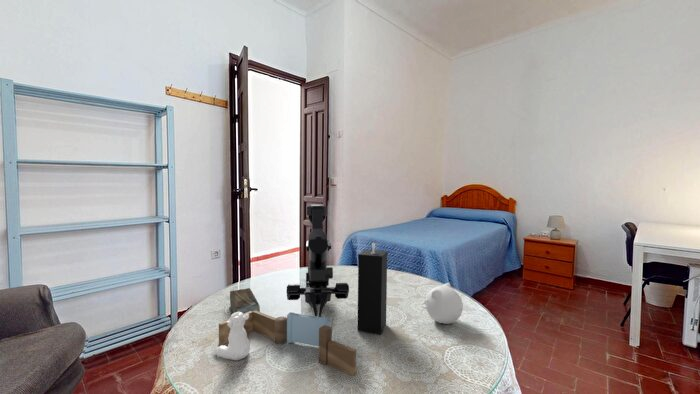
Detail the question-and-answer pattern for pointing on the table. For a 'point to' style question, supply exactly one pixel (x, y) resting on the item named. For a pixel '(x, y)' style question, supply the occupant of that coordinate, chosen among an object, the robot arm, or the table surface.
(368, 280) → the black pillar candle
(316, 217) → the robot arm
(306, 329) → the gate
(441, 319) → the cat head
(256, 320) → the pen fence
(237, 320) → the sitting furry creature
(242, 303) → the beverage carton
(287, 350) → the table surface
